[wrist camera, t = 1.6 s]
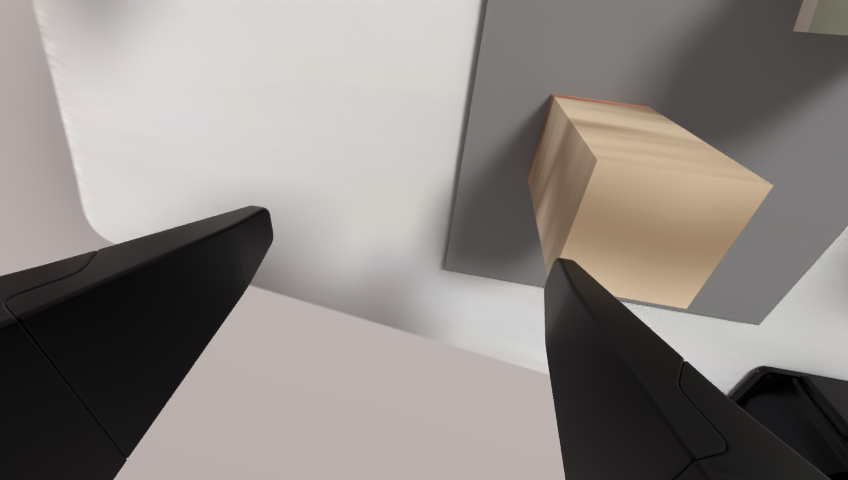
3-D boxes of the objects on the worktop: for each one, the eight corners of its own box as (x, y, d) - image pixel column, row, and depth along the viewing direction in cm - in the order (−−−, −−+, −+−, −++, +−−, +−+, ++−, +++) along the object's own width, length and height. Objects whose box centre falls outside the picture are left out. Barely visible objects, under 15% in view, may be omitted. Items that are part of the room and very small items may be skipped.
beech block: (611, 192, 19) (686, 309, 12) (528, 179, 20) (549, 284, 12) (648, 106, 17) (773, 185, 9) (551, 93, 17) (597, 160, 10)
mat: (752, 318, 23) (758, 325, 22) (445, 264, 24) (444, 270, 24) (1125, -110, 12) (1153, -115, 11) (513, -156, 13) (514, -162, 13)
